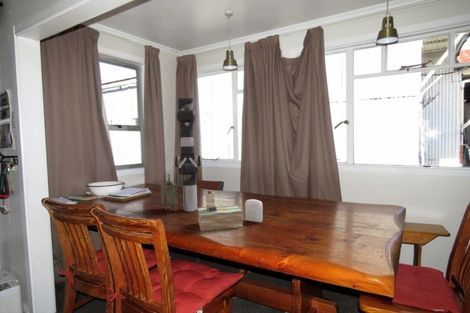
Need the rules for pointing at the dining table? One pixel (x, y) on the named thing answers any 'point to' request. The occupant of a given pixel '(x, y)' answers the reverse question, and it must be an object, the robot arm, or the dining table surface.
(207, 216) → the rectangular block
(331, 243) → the dining table surface
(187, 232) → the dining table surface
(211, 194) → the wooden knobbed block
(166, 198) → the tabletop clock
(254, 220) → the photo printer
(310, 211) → the dining table surface
